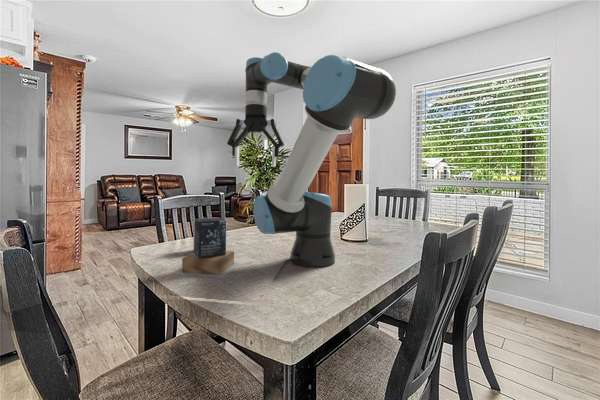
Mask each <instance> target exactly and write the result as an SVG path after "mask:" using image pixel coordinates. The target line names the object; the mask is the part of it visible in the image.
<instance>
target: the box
mask: <svg viewBox="0 0 600 400" xmlns="http://www.w3.org/2000/svg"><path fill="white" fill-rule="evenodd" d="M194 224H195V237H194V236H193V253H194V254H195V255H196V256H197V257H199V258H202V257H210V256H219V255H226V251H227V250H226V249H227V220H226V219H224V218H222V217H211V218H210V217H209V218H207V217H206V218H194Z"/></svg>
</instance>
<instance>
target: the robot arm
mask: <svg viewBox="0 0 600 400" xmlns="http://www.w3.org/2000/svg"><path fill="white" fill-rule="evenodd" d="M244 70H245V71H244V72H245V107H244V109H245V110H244V111H245V112H244V114H245V116H244V117H245V119H244V120H243V119H239V118H237V119H236V121H235V126H234V128H233V130H232V132H231V134H230V136H229V138H228V140H227V143H226V144H227V145H228V146H230V147H232V149H231V150H232V154H231V155H232V157H234V166H237V167H240V150H241V149H240V147H239V146H240V145H241V143H242V142H243V141H244V140H245V139H246V137H247V136H248V135H249V134H250V133H258V134H261V133H263V134H264V135H265V137H267V139H268V140H269V141H270V142H271V144H272V145H273V146H274V147H272V148H271V151H272V153H271V155H272V156H271V166H272V167H274V168H275V167H276V166H277V164H276V163H277V158H279V156H280V155H279V154H280V148H281V147H284V146H285V142H284V141H283V138H282V136H281V134H280V132H279V130H278V128H277V123H276V120H275V119H274V118H270V119H268V115H267V114H268V113H267V112H268V108H267V106H268V105H267V104H268V85H270V84H272V83H273V84H277V85H283V86H287V87H291V88H296V89H298V90H299V89H300V90H302V99H303V102H304V104H305V106H304V112H305V113H306V116H307V117H306V119H305V122H304V123H303V126H302V128H301V130H300V131H299V135H298V137H297V139H296V141H295V143H294V145H293V148H292V150H291V151H290V153H289V156H288V159H287V160H286V163H285V165H284V167H283V169H282V170H281V173H280V175H279V178H278V180H277V182H276V183H275V184H272V185H271V186H270V187H269V188H268V189H267V192H266V194H265V195H258V196H257V197H255V198H254V201H253V217H254V218H253V220H254V222H255V225H256V228H257V229H258V231H259V232H260V233H262V234H264V235H277V234H285V233H286V234H287V233H294V232H295V240H294V243H293V245H292V247H291V252H290V257H289V261H290V262H292V263H293V264H296V265H298V266H302V267H313V268H316V267H317V268H318V267H319V268H320V267H328V266H332V265H334V264H335V262H336V254H335V250H334V247H333V244H332V240H331V232H332V211H333V207H332V198H331V197H332V196H330V195H329V194H324V193H319V192H318V193H317V192H310V191H307V190H308V189H309V188H310V185H311V184H312V182H313V180H314V178H315V177H316V175H317V173H318V171H319V169H320V168H321V166H322V164H323V162H324V161H325V159H326V157H327V155H328V153H329V152H330V150H331V148H332V146H333V143H334V142H335V141H336V139H337V137H338V135H339V134H340V133H343V132H347V131H348V130H349V128H350V127H351V125H352V123H353V122H354V120H355V119H362V120H375V119H377V118H380V117H382V116H384V115H385V114H387V113H388V112H389V110H390V109H392V106H393V105H394V102H395V100H396V94H397V89H396V87H397V86H396V85H395V81H394V80H393V78H392V76H391V75H390V74H389V73H388V72H386V71H385V70H384V69H381V68H378V67H374V66H372V65H368V64H365V63H363V62H359V61H357V60H354V59H351V58H350V57H346V56H340V55H336V54H335V55H334V54H329V55H325V56H323V57H321V58H319V59H318V60H317V61H316V62H314V64H313V65H311V66H307V65H303V64H300V63H296V62H293V61H288V60H287V59H286V57H285V56H283V54H282V53H280V52H275V51H274V52H271V53H268V54H266V55H264V57H263V58H262V57H256V56H255V57H254V56H253V57H250V58H248V59H247V60H246V64H245V69H244ZM268 124H269V126H270V127H271V129H272V131H273V133H274V135H275V137H276V140H277V141H278V142H277V141H276V140H275V138H274V137H273V136H272V135H271V134H270V132H269V131H268V129H266V128H267V126H268ZM243 126H245V127H244V128H243V130H242V132H241V133H239V132H240V131H241V128H242V127H243Z"/></svg>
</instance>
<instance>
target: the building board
mask: <svg viewBox="0 0 600 400" xmlns="http://www.w3.org/2000/svg"><path fill="white" fill-rule="evenodd" d="M240 263H241V262H234V264H233V265H232V266H231V267H229V268H228V269H227V270H226V271H224V272H223V273H222V274H221V275H210V274H196V273H182V269H180V270H179V271H176V272H175V273H174V275H182V276H183V275H185V276H197V277H210V278H211V277H212V278H224V277H225V276H226V275H228V274H229V273H230V272H232V271H233V269H235V268H236V267H238V266H239V265H240Z"/></svg>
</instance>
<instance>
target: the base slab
mask: <svg viewBox="0 0 600 400" xmlns="http://www.w3.org/2000/svg"><path fill="white" fill-rule="evenodd" d="M234 263H235V251H234V250H232V251H231V250H226V255H219V256H210V257H202V258H199V257H197V256H196V255H195V254H194V252H192V253H191V254H189V255H187V256H185V257H182V259H181V265H182V266H181V268H182V269H181V270H182V273H196V274H210V275H221V274H222V273H223V272H224V271H226V270H227V269H228V268H229V267H231V266H232V265H233V264H234Z"/></svg>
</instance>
